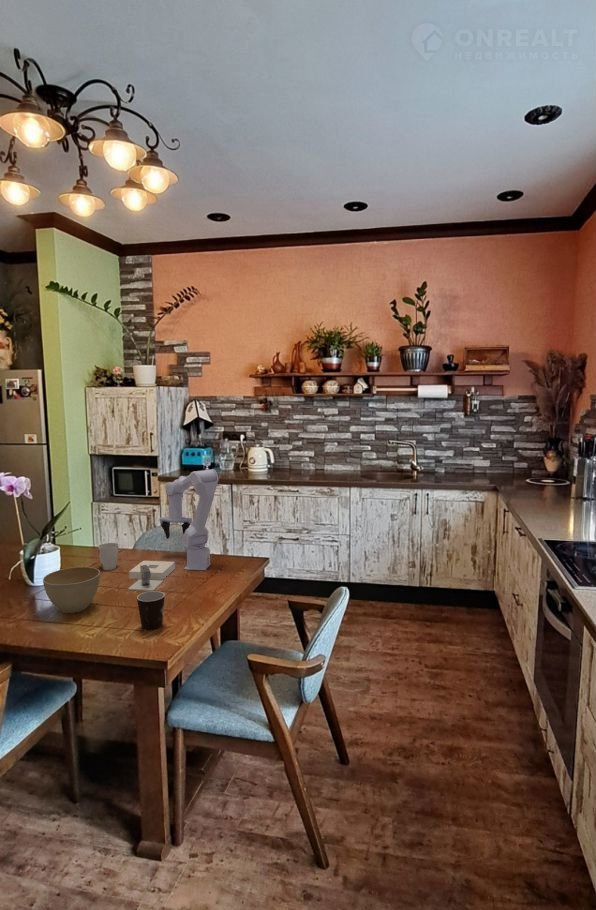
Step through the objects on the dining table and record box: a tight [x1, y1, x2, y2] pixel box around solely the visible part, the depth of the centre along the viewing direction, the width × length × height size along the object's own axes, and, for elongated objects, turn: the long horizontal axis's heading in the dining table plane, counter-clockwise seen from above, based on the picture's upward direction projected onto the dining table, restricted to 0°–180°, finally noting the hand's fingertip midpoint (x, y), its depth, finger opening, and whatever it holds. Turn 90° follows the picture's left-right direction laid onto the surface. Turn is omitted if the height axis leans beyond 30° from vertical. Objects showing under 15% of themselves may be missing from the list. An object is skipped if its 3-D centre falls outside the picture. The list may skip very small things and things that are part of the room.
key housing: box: [128, 560, 176, 581], centre depth 222 cm, size 14×14×3 cm
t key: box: [140, 565, 151, 586], centre depth 208 cm, size 8×3×6 cm, turn 26°
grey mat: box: [127, 579, 164, 592], centre depth 208 cm, size 10×10×1 cm
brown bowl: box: [42, 566, 101, 614], centre depth 186 cm, size 18×18×12 cm
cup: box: [97, 542, 119, 571], centre depth 228 cm, size 8×8×10 cm
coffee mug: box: [136, 590, 166, 631], centre depth 171 cm, size 12×9×10 cm
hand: (176, 538), depth 241 cm, fingers open, 7 cm apart
